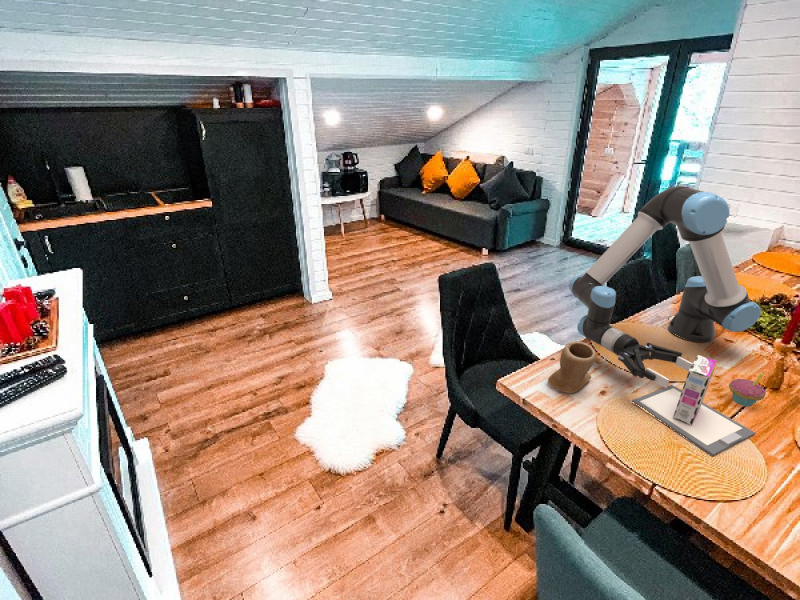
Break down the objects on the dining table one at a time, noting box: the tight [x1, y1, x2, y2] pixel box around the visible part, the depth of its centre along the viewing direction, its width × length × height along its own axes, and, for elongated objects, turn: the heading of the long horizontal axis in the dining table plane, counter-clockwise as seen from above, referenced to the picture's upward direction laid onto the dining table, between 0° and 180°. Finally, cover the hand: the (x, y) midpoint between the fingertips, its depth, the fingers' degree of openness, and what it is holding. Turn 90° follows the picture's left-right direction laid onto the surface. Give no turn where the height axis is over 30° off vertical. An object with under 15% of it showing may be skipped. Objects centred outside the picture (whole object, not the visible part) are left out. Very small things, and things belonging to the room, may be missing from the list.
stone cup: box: [547, 340, 596, 394], centre depth 134 cm, size 15×12×15 cm
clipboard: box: [631, 384, 756, 457], centre depth 120 cm, size 18×24×2 cm
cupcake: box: [728, 371, 766, 408], centre depth 124 cm, size 9×8×12 cm
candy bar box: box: [673, 354, 718, 425], centre depth 118 cm, size 11×5×16 cm, turn 136°
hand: (683, 377), depth 120 cm, fingers open, 13 cm apart
